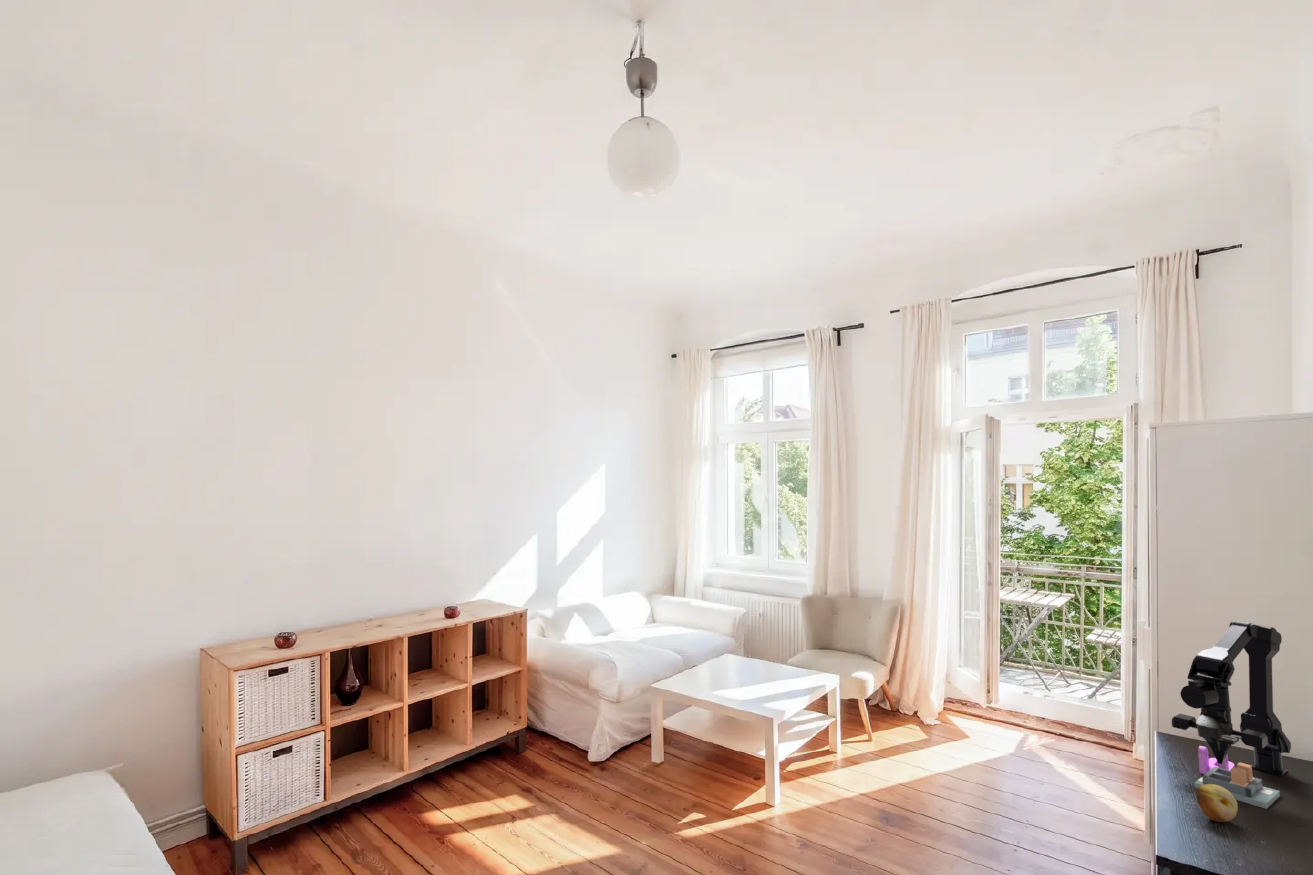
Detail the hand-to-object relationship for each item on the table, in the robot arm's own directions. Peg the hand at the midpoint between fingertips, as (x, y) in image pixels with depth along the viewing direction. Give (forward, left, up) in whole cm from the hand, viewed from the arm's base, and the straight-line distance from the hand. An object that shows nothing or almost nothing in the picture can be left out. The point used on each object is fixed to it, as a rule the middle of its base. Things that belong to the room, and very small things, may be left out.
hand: (1220, 763), depth 168 cm
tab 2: (0, +5, -4) cm, 6 cm away
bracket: (-11, -3, -6) cm, 13 cm away
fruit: (+25, +6, -6) cm, 27 cm away
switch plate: (+2, +4, -5) cm, 7 cm away
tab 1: (+5, +5, -4) cm, 8 cm away
